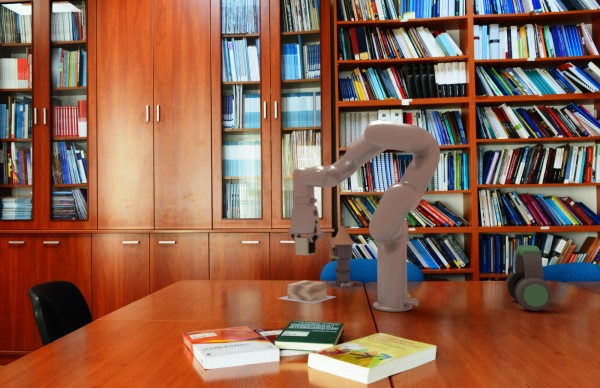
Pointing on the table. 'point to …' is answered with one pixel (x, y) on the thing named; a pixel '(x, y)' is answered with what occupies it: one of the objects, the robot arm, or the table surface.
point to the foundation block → (306, 290)
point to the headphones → (529, 280)
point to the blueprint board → (308, 301)
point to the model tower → (341, 255)
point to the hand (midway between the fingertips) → (305, 252)
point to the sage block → (302, 246)
